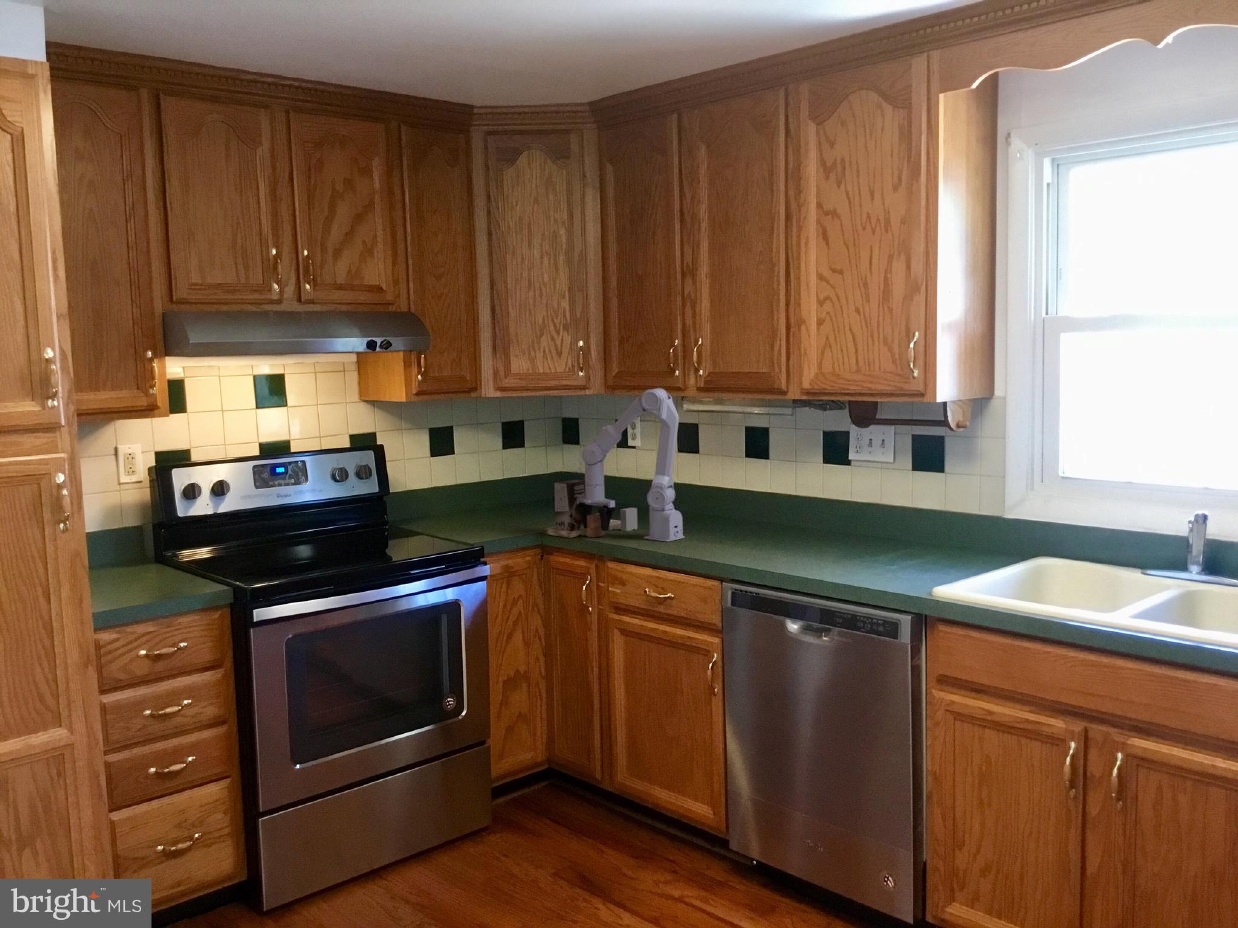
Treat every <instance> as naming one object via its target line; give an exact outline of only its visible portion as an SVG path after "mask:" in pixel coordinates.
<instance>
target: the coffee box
mask: <svg viewBox="0 0 1238 928" xmlns="http://www.w3.org/2000/svg"><path fill="white" fill-rule="evenodd" d="M578 497H586V493H585V479H570V480H565V481H557V482H554V514H555V515H554V517H555V519H554V520H555V521H554V522H555V526H556V530H560V531H567V532H571V531H576V530H581V529H585V528H584V526H583V522H582V519H581V517H580V514H579V512H578V511H577V509H576V506H578V505H579V504H577V498H578Z"/></svg>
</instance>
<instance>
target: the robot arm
mask: <svg viewBox="0 0 1238 928" xmlns="http://www.w3.org/2000/svg"><path fill="white" fill-rule="evenodd" d="M647 412H649V413H651V414H652V415H653V416H654V417H655V418H656V419H657V420H658V421H659V422H660V427H659V428H660V430H659V437H658V446H657V453H656V454H657V456H656V463H655V472H654V473H655V474H654V477H653V479H652V482H651V486H650V489H649V491H648V493H647V495H646V500H647V503H648V506H649V507H648V508H649V509H648V510H649V535H646V536H643V539H645V540H646V539H648V540H652V541H653V540H654V541H661V542H672V541H676V540H681V539H685V536H684V530H683V529H684V527H683V524H684V523H683V515H682V513H681V512H680V511H679V510H676V509H675V506H674V504H673V502H674V500H675V498H676V491H675V488H674V484H675V481H674V479H673V471H674V464H675V463H674V462H675V456H676V455H675V453H676V446H677V439H678V438H677V437H678V429H679V424H680V423H679V421H680V415H679V414H678V412H677V408H676V406H675V404H674V401H673V397H672V395H671V394H669V393H668V392H667V391H666V390H665V389H664V388H661V387H656V388H653V389H646V390H645V391H643V392H642V393H641V395H639V396H638V397H637V398H636V399H635V400H633V402H632V403H631V404H630V406H629V407H628V408H626V410H625V411H624V412H623V413H622V415H621V416H620V417H619V418H618V419H617V420H616V421H615V423H614V424H613V425H611V424H610V425H609V424H607V425H606V426H603V427H602V428H601V429H600V431H601V432H600V433H598V435H597V436H596V437H595V438H592V439H591V440H590V443H591V444H588V445H585V446H584V447H583V449H582V451H581V459H582V461H583V462H584V480H585V493H586V497H578V498H577V504H579V505H578V506H576V509H577V511H578V512H579V514H580V517H581V519H582V522H583V526H584V528H585V529H586V528H587V515H591V514H592V512H593V507H594V506H595V507H596V506H597V511H598V513H599V514H600V519H601V528H602V531H605V532H606V531H609V530H608V529H609V524H610V520H612V517H613V514H614V513H615V511H616V500H613V499H609V498H605V497H606V496H605V494H606V493H605V468H604V461H605V459H606V457H607V454H609V452H610V451H611V450H613V448H614V447H616V445H617V444H618V443H619V442H620V441H621V440H622V434H623V431H624V430H625V429H626V428H628V426H629V425H630V424H632V423H633V422H634V421H635V420H636V419H637V418H638V417H639V416H640V415H641V414H643V413H644V414H645V413H647ZM598 506H599V507H598Z"/></svg>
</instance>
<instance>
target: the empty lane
mask: <svg viewBox="0 0 1238 928" xmlns="http://www.w3.org/2000/svg"><path fill="white" fill-rule="evenodd" d="M619 512H620V514H619V515H620V520H615V519H611V520H610V524H609V529H608V530H607V531H612V529H614V530H619V529H621V530H620V531H623V532H629V531H634V530H633V529H635V530H638V528H639V527H638V508H637V507H626V508H623V509H619Z"/></svg>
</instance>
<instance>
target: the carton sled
mask: <svg viewBox="0 0 1238 928" xmlns="http://www.w3.org/2000/svg"><path fill="white" fill-rule="evenodd" d="M545 535H551V536H556V537H557V536H558V537H563V538H570V539H571V538H574V537H580V536H579V535H581V536H585V535H586V537H588V538H597V537H602V536H605V535H606V531H602V528H601V519H600V514H599V512H598V513H591V515H587V528H586V529H581V530H576V531H571V532H567V531H560V530H556V525H555V526H551V527H546V528H545Z"/></svg>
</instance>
